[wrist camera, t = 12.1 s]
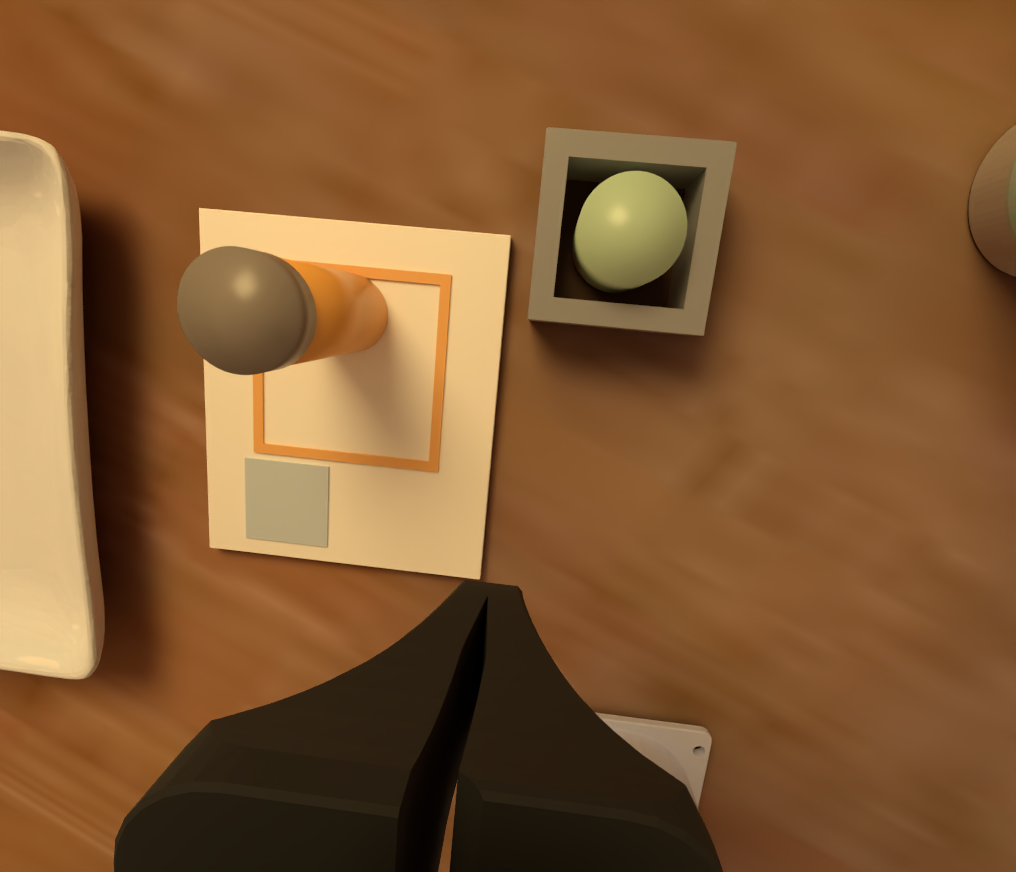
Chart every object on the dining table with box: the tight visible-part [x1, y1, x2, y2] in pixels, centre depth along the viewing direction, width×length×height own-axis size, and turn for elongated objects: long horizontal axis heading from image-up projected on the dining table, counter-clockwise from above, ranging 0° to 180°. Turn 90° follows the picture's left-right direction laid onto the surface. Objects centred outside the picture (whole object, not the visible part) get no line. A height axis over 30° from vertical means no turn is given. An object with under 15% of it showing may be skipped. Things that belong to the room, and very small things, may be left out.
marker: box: [177, 246, 388, 375], centre depth 16 cm, size 3×3×7 cm
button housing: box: [528, 127, 737, 336], centre depth 18 cm, size 6×6×2 cm
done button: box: [572, 171, 687, 293], centre depth 17 cm, size 3×3×3 cm
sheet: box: [199, 208, 511, 579], centre depth 21 cm, size 14×12×1 cm
